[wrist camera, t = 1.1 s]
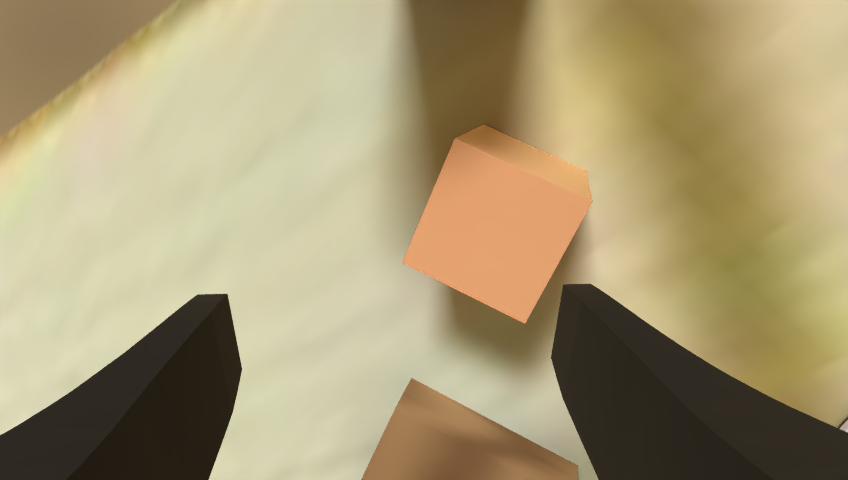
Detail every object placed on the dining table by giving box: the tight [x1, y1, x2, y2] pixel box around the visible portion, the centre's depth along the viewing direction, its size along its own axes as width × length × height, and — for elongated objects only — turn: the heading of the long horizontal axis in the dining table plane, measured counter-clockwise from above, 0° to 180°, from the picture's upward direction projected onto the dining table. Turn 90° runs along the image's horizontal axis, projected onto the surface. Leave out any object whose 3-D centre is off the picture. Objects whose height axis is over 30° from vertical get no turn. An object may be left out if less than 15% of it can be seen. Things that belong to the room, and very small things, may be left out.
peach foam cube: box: [402, 125, 592, 324], centre depth 19 cm, size 5×5×6 cm
